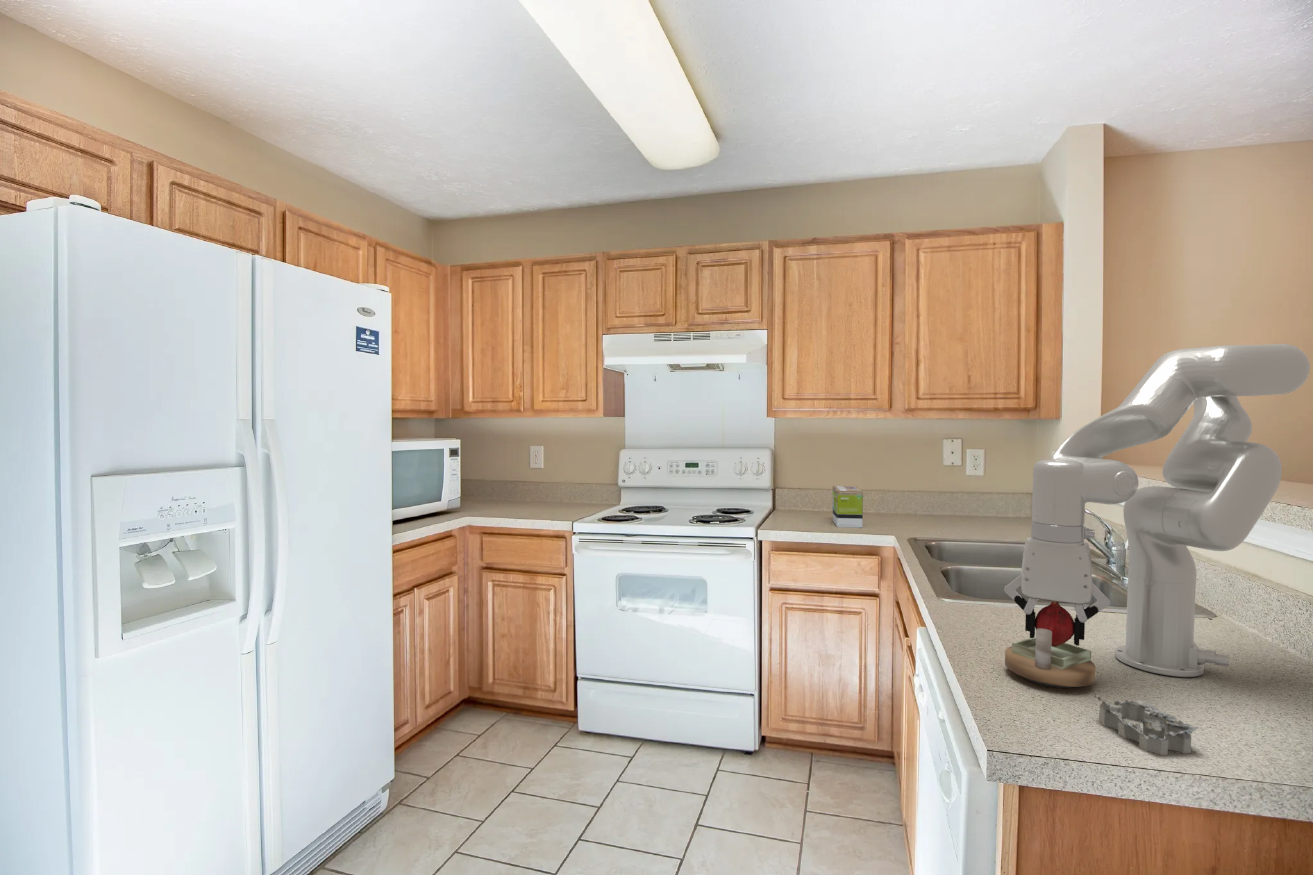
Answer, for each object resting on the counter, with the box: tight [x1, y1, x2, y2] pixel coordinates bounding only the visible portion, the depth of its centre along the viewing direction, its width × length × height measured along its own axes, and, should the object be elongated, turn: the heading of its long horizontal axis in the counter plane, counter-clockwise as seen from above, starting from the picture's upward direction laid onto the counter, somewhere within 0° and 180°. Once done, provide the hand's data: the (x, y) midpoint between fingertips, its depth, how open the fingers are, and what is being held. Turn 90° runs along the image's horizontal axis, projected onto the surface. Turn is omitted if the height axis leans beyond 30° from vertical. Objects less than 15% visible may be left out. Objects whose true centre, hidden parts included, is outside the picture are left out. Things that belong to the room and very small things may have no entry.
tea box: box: [832, 485, 864, 529], centre depth 259 cm, size 15×10×15 cm, turn 172°
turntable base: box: [1023, 677, 1071, 689], centre depth 109 cm, size 8×8×1 cm
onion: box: [1035, 601, 1075, 647], centre depth 109 cm, size 6×6×8 cm
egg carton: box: [1093, 694, 1200, 756], centre depth 90 cm, size 11×8×4 cm
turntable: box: [1004, 628, 1097, 688], centre depth 109 cm, size 13×13×8 cm
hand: (1054, 638), depth 110 cm, fingers closed on onion, 5 cm apart
